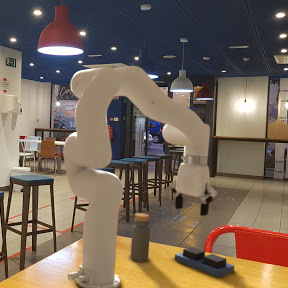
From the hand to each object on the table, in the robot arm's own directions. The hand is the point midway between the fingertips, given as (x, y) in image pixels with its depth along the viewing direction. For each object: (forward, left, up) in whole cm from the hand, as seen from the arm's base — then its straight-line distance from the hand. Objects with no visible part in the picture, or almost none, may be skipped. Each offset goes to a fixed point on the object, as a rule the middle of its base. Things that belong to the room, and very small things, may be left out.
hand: (190, 211), depth 125 cm
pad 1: (+1, -2, -17) cm, 17 cm away
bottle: (-13, +10, -17) cm, 23 cm away
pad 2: (+1, -9, -17) cm, 19 cm away
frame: (+1, -5, -17) cm, 18 cm away
